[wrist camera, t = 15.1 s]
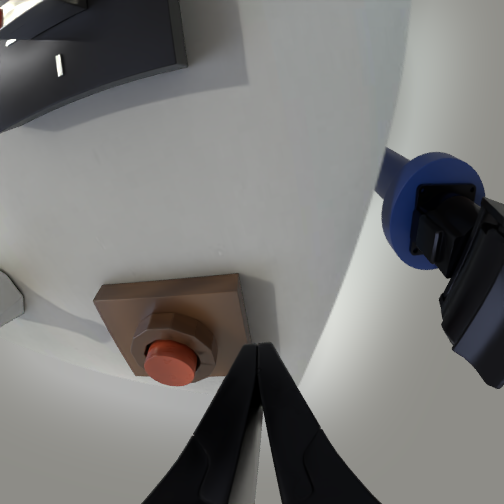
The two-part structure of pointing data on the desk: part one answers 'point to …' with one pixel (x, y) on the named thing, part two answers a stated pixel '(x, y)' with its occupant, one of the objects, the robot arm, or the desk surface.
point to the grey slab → (34, 16)
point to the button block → (178, 319)
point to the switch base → (88, 56)
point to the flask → (9, 300)
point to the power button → (171, 363)
